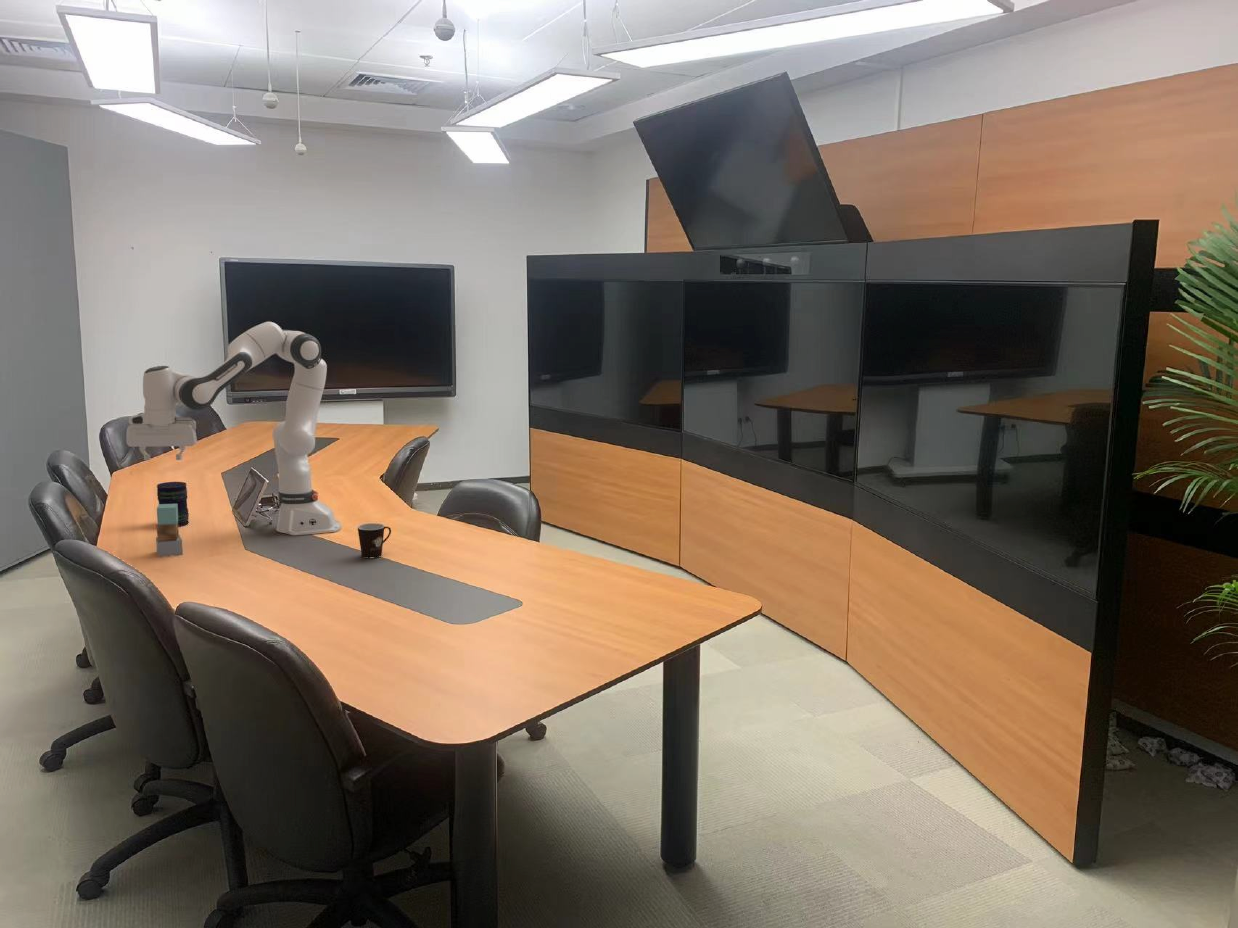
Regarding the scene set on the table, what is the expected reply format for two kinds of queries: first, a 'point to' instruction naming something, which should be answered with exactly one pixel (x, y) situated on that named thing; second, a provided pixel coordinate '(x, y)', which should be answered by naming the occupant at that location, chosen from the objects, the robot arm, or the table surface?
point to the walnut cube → (167, 532)
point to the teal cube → (167, 514)
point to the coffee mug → (372, 539)
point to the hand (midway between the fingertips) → (163, 459)
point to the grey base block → (169, 547)
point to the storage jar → (175, 499)
